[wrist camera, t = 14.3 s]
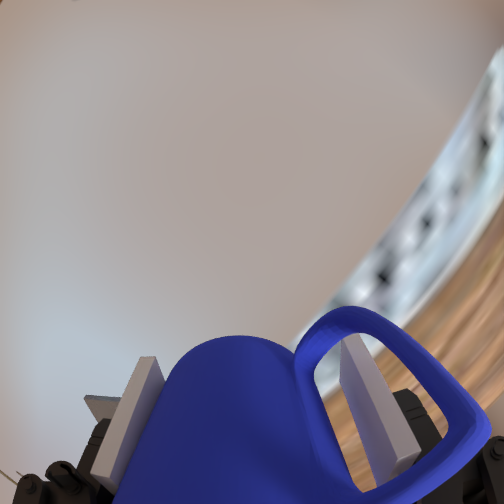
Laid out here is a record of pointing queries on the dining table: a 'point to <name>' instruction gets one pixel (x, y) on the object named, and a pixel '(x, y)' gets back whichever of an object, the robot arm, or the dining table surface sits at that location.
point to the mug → (283, 424)
